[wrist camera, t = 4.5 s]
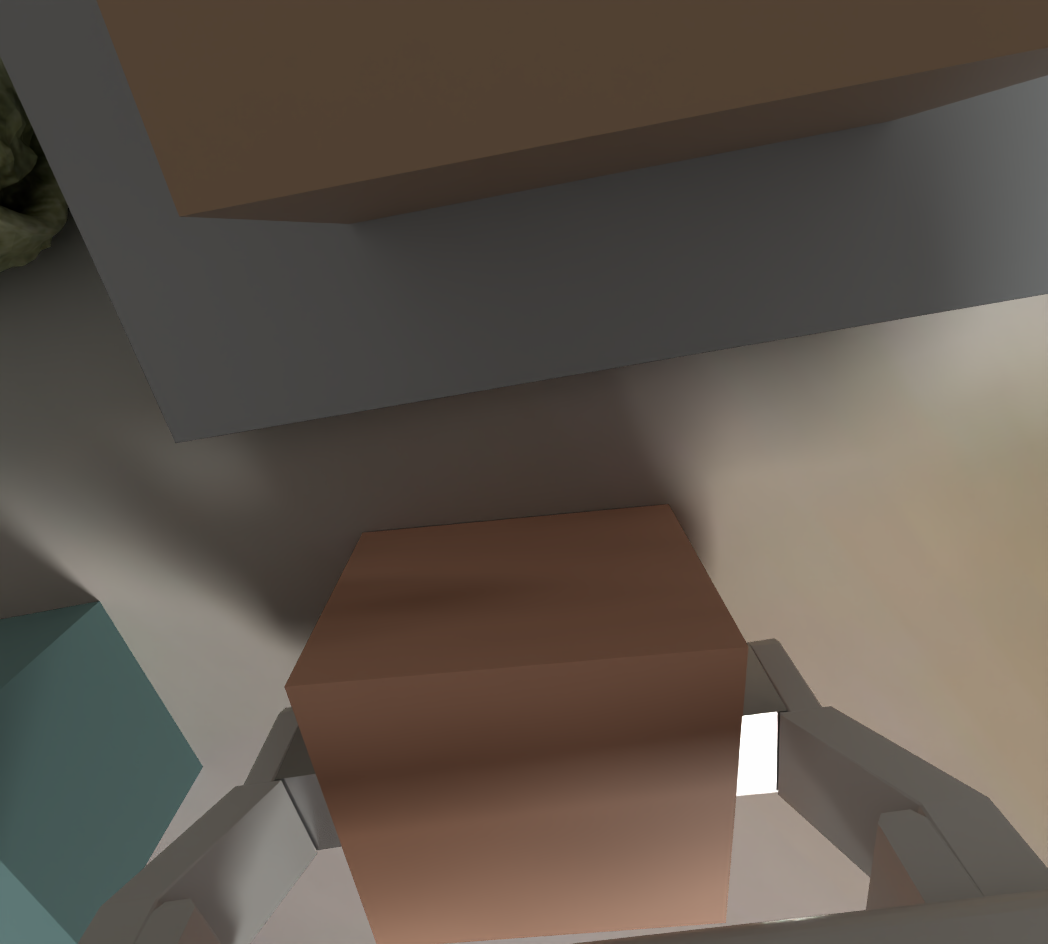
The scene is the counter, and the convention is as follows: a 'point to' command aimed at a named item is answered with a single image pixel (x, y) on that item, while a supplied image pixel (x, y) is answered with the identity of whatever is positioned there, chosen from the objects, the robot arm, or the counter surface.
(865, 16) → the baseplate
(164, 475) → the counter surface
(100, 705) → the brick
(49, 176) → the washcloth
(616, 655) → the brick
